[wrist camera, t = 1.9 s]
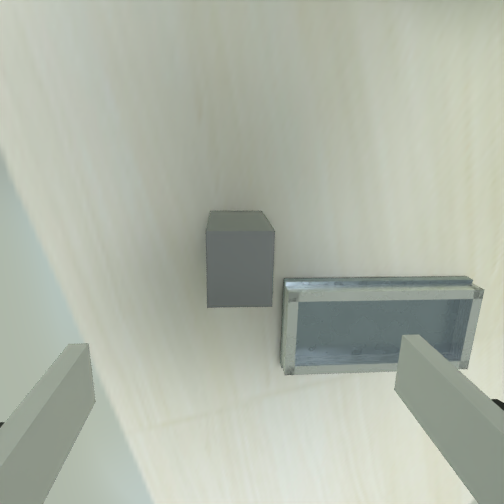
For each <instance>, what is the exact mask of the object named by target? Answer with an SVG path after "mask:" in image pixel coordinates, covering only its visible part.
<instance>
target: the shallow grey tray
mask: <svg viewBox="0 0 504 504" xmlns="http://www.w3.org/2000/svg"><path fill="white" fill-rule="evenodd" d="M472 281H473V280H472V279H470V278H469V277H467V276H465V277H374V278H284V291H283V313H282V335H281V358H280V364H281V367H282V368H283V371H284V374H285V375H301V374H331V373H361V372H390V371H397V367H398V360H399V353H400V347H401V340H402V335H418V334H419V335H420V336H421V337H422V338H424V339H425V340H426V341H427V342H428V343H429V344H430V345H431V346H432V347H433V348H435V349H436V350H437V351H438V352H439V353H440V354H441V355H442V356H443V357H445V358H446V359H447V360H448V361H449V362H450V363H451V364H452V365H453V366H455V367H456V368H457V369H467V368H468V364H469V359H470V354H471V350H472V345H473V340H474V336H475V331H476V326H477V322H478V317H479V312H480V308H481V303H482V298H483V294H484V289H482V288H480V287H478V286H476V285H475V284H473V283H472Z"/></svg>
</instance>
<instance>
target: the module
mask: <svg viewBox="0 0 504 504" xmlns="http://www.w3.org/2000/svg"><path fill="white" fill-rule="evenodd" d="M274 239H275V231H274V229H273V228H272V226H271V224H270V223H269V221H268V220H267V218H266V217H265V215H264V214H263V212H262V211H210V215H209V219H208V224H207V228H206V264H207V308H213V307H271V306H272V295H273V267H274Z"/></svg>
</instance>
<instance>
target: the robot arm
mask: <svg viewBox="0 0 504 504" xmlns="http://www.w3.org/2000/svg"><path fill="white" fill-rule="evenodd" d="M394 390H395V391H396V393H397V394H398V395H399V397H400V398H401V399H402V401H403V402H404V403H405V405H406V406H407V408H408V409H409V410H410V412H411V413H412V414H413V416H414V417H415V418H416V420H417V421H418V422H419V424H420V425H421V426H422V428H423V429H424V431H425V432H426V433H427V435H428V436H429V437H430V439H431V440H432V441H433V443H434V444H435V445H436V447H437V448H438V449H439V451H440V452H441V454H442V455H443V456H444V458H445V459H446V460H447V462H448V463H449V464H450V466H451V467H452V468H453V470H454V471H455V472H456V474H457V475H458V477H459V478H460V479H461V481H462V482H463V483H464V485H465V486H466V487H467V489H468V490H469V491H470V493H471V494H472V496H473V497H474V498H475V500H476V501H477V502H478V504H504V403H503V402H501V401H499V400H498V399H490V398H489V397H488V396H487V395H485V394H484V393H483V392H482V391H481V390H480V389H479V388H478V387H477V386H476V385H474V384H473V383H472V382H471V381H470V380H469V379H468V378H467V377H466V376H464V375H463V374H462V373H461V372H460V371H459V370H458V369H457V368H456V367H455V366H453V365H452V364H451V363H450V362H449V361H448V360H447V359H446V358H445V357H443V356H442V355H441V354H440V353H439V352H438V351H437V350H436V349H435V348H433V347H432V346H431V345H430V344H429V343H428V342H427V341H426V340H425V339H424V338H422V337H421V336H420V335H419V334H418V335H402V340H401V347H400V353H399V360H398V367H397V374H396V381H395V388H394ZM95 402H96V401H95V393H94V385H93V376H92V368H91V359H90V351H89V343H86V344H68V346H67V347H66V348H65V349H64V350H63V352H62V353H61V354H60V355H59V357H58V358H57V359H56V360H55V361H54V363H53V364H52V365H51V366H50V368H49V369H48V370H47V371H46V372H45V374H44V375H43V376H42V377H41V379H40V380H39V381H38V382H37V383H36V385H35V386H34V387H33V389H32V390H31V391H30V392H29V393H28V395H27V396H26V397H25V398H24V399H23V401H22V402H21V403H20V404H19V406H18V407H17V408H16V409H15V411H14V412H13V413H12V414H11V415H10V417H9V418H8V419H7V420H6V422H1V423H0V504H43V503H44V501H45V499H46V497H47V495H48V493H49V491H50V489H51V487H52V485H53V484H54V482H55V480H56V478H57V476H58V474H59V472H60V470H61V468H62V466H63V464H64V462H65V460H66V458H67V456H68V454H69V453H70V451H71V449H72V447H73V445H74V443H75V441H76V439H77V437H78V435H79V433H80V431H81V429H82V427H83V425H84V423H85V421H86V419H87V418H88V415H89V414H90V412H91V409H92V408H93V406H94V404H95Z"/></svg>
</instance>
